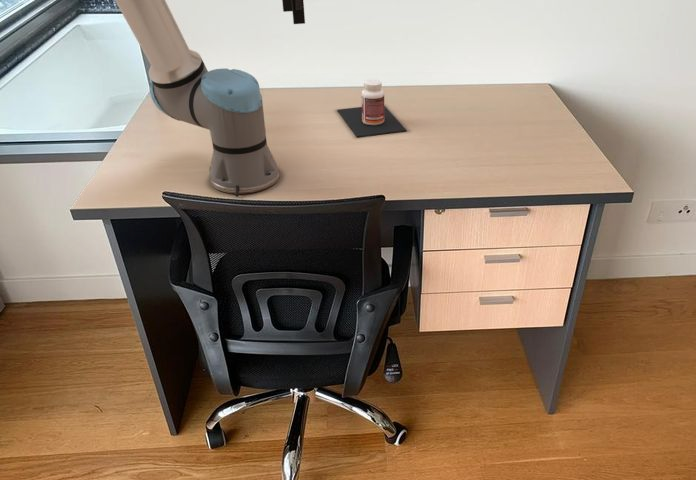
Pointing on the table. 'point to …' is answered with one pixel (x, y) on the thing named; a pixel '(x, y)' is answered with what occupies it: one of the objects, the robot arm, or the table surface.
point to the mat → (361, 130)
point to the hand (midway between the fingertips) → (293, 17)
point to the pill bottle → (372, 103)
